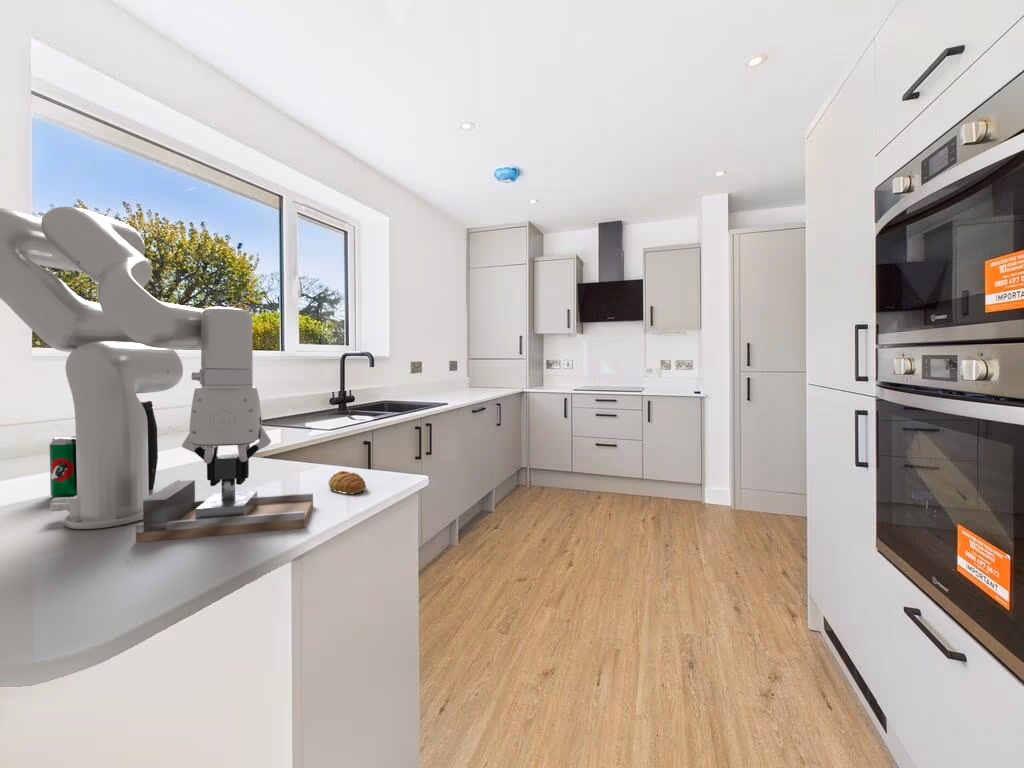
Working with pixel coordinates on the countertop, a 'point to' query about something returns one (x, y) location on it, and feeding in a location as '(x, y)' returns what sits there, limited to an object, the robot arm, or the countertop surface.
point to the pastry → (347, 482)
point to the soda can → (63, 467)
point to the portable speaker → (151, 443)
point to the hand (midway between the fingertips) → (228, 482)
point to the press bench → (176, 518)
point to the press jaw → (227, 493)
